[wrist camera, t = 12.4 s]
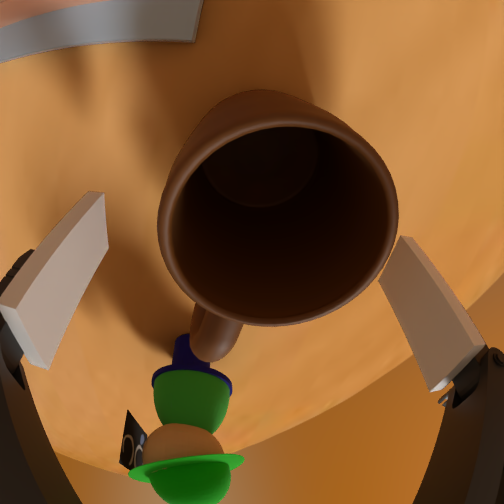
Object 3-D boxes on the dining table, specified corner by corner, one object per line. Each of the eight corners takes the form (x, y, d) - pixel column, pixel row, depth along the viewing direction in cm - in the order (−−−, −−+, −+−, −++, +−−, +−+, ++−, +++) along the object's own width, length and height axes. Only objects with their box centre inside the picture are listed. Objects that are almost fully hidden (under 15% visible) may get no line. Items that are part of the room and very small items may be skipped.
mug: (259, 277, 21) (272, 395, 13) (156, 243, 19) (118, 360, 11) (346, 125, 15) (444, 189, 7) (224, 67, 13) (208, 56, 5)
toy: (140, 322, 23) (106, 493, 11) (240, 324, 24) (249, 508, 12) (159, 376, 28) (145, 507, 16) (239, 378, 29) (245, 514, 17)
